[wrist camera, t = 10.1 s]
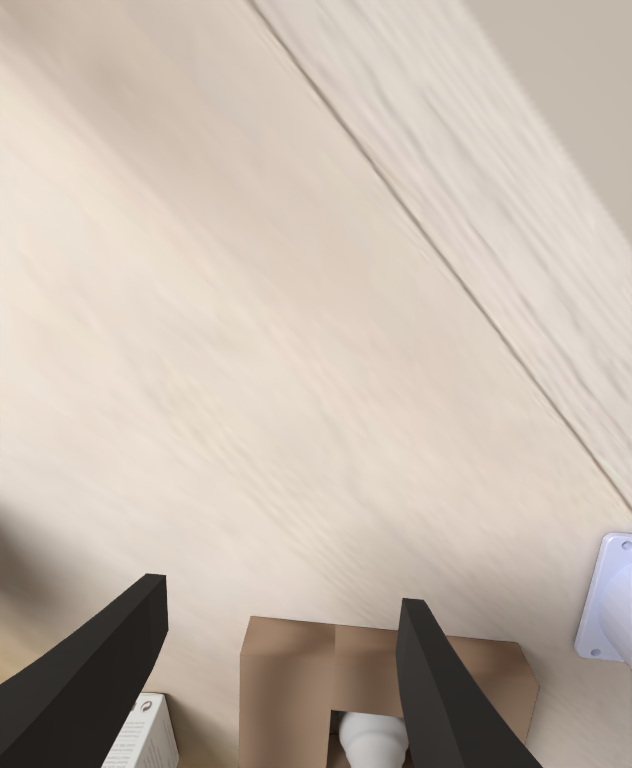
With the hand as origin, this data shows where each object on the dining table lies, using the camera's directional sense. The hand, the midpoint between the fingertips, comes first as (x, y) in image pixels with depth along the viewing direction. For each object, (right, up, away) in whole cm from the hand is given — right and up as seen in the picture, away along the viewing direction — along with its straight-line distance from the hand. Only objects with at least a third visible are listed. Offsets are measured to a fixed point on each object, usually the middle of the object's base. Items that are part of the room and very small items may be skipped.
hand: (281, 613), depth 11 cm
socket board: (+5, -14, +13) cm, 19 cm away
